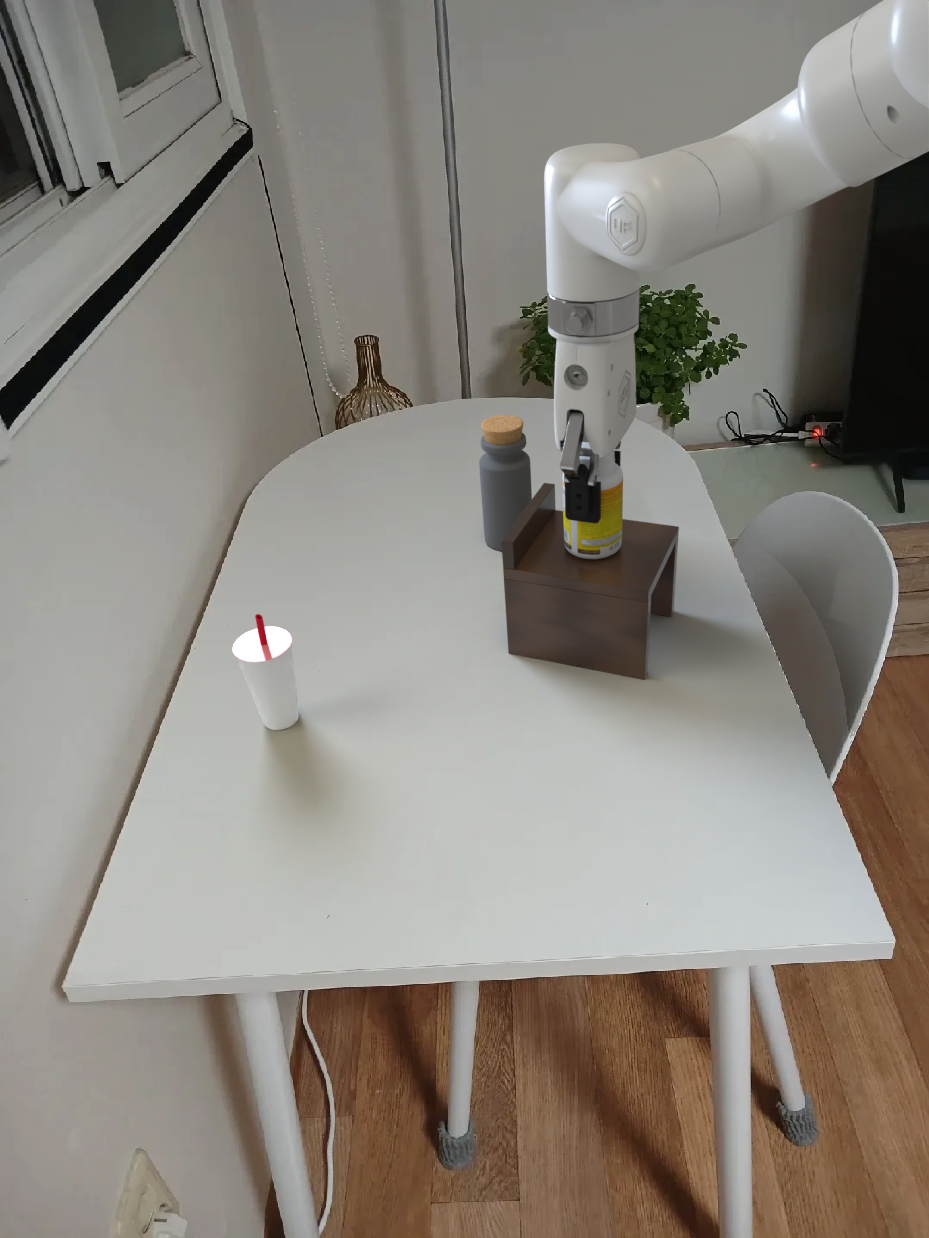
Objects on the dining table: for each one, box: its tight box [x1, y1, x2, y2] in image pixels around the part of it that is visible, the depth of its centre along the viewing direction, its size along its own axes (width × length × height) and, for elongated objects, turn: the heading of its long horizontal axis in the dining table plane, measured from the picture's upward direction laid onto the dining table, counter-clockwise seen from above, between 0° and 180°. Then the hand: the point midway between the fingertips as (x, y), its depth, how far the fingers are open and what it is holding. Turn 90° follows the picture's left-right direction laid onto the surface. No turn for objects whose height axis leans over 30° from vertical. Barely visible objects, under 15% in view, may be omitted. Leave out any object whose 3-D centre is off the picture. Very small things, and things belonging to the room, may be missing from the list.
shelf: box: [501, 482, 680, 680], centre depth 94 cm, size 14×12×13 cm
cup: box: [231, 613, 300, 731], centre depth 87 cm, size 5×5×12 cm
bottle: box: [478, 414, 533, 552], centre depth 110 cm, size 6×6×15 cm
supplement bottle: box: [561, 442, 624, 559], centre depth 89 cm, size 6×6×10 cm
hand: (593, 502), depth 89 cm, fingers closed on supplement bottle, 5 cm apart
